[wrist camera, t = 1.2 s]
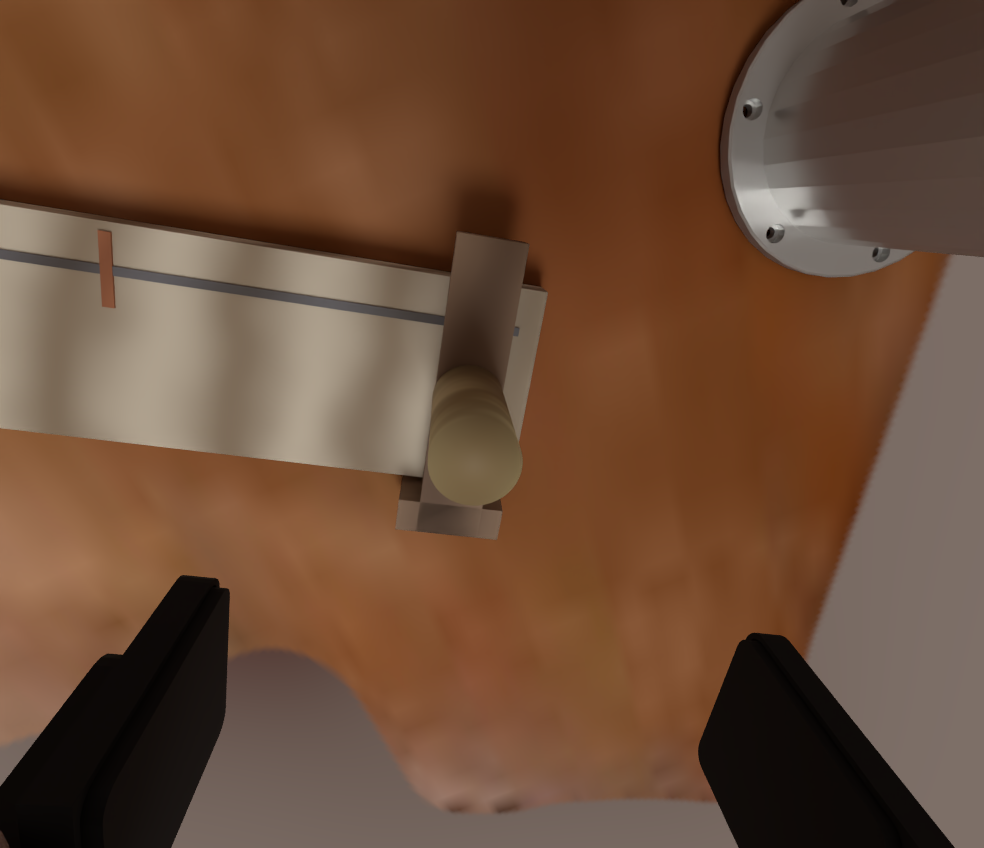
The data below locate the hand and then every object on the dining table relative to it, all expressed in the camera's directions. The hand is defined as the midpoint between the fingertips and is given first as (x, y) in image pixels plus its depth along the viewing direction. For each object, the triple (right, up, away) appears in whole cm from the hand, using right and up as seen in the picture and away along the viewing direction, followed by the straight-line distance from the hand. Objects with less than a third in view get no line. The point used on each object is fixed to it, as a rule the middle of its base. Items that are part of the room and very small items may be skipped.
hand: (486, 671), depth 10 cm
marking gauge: (-1, +7, +19) cm, 21 cm away
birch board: (-11, +8, +18) cm, 23 cm away
